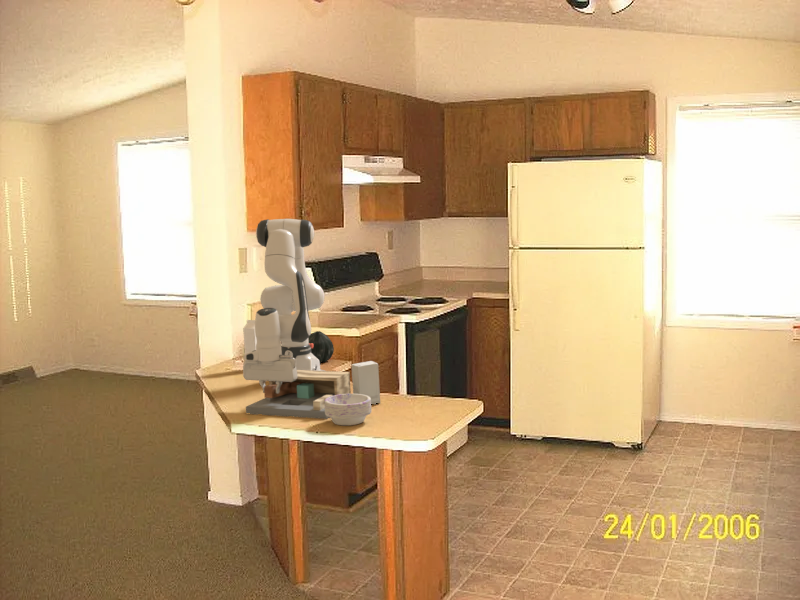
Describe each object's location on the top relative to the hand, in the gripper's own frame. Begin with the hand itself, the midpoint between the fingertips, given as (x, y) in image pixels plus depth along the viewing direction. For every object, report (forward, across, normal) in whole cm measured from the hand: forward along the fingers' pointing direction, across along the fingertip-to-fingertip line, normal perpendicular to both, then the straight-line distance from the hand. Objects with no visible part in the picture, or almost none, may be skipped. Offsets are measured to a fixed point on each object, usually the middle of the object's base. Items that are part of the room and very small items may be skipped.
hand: (271, 393), depth 305 cm
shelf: (+3, -10, -11) cm, 15 cm away
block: (+3, -9, -8) cm, 13 cm away
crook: (+2, -3, -6) cm, 6 cm away
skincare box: (+6, -31, -12) cm, 34 cm away
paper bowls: (+6, -35, +12) cm, 38 cm away
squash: (+6, +24, -83) cm, 86 cm away
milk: (+6, +43, -60) cm, 74 cm away
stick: (+3, -22, +4) cm, 23 cm away
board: (+5, -11, -3) cm, 12 cm away
